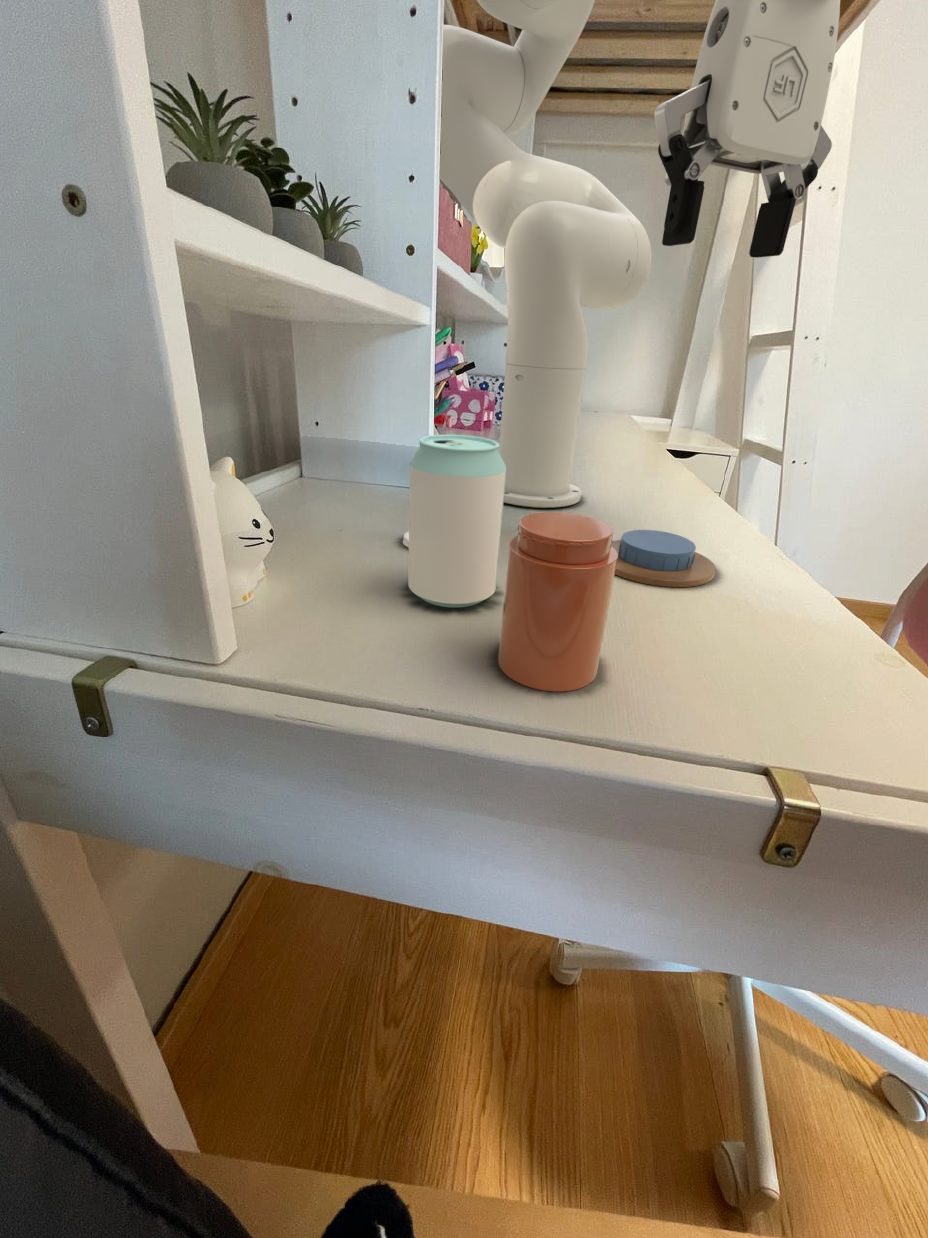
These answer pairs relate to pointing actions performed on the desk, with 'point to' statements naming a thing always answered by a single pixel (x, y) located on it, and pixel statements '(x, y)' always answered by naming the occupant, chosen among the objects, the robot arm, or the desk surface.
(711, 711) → the desk surface
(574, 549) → the jar
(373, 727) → the desk surface
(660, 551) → the lid
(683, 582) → the coaster
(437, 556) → the can
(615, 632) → the desk surface
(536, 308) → the robot arm
